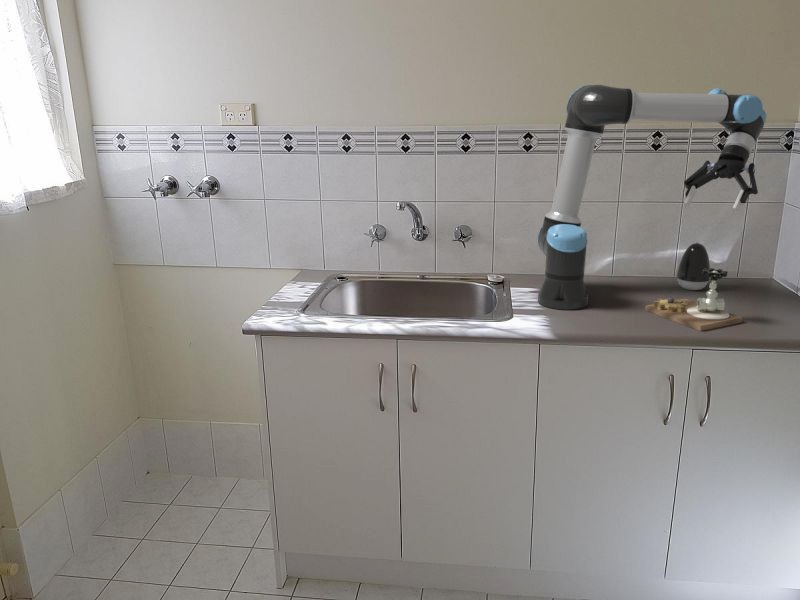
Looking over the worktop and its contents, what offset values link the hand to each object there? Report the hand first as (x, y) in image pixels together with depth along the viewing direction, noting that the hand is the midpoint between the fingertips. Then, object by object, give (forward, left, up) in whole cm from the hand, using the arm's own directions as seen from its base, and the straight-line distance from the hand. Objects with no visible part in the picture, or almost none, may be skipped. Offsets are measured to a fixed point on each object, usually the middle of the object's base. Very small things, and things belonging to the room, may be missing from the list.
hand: (709, 208), depth 184 cm
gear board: (+6, -9, -30) cm, 32 cm away
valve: (+9, -6, -28) cm, 30 cm away
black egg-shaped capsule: (-15, +14, -30) cm, 36 cm away
